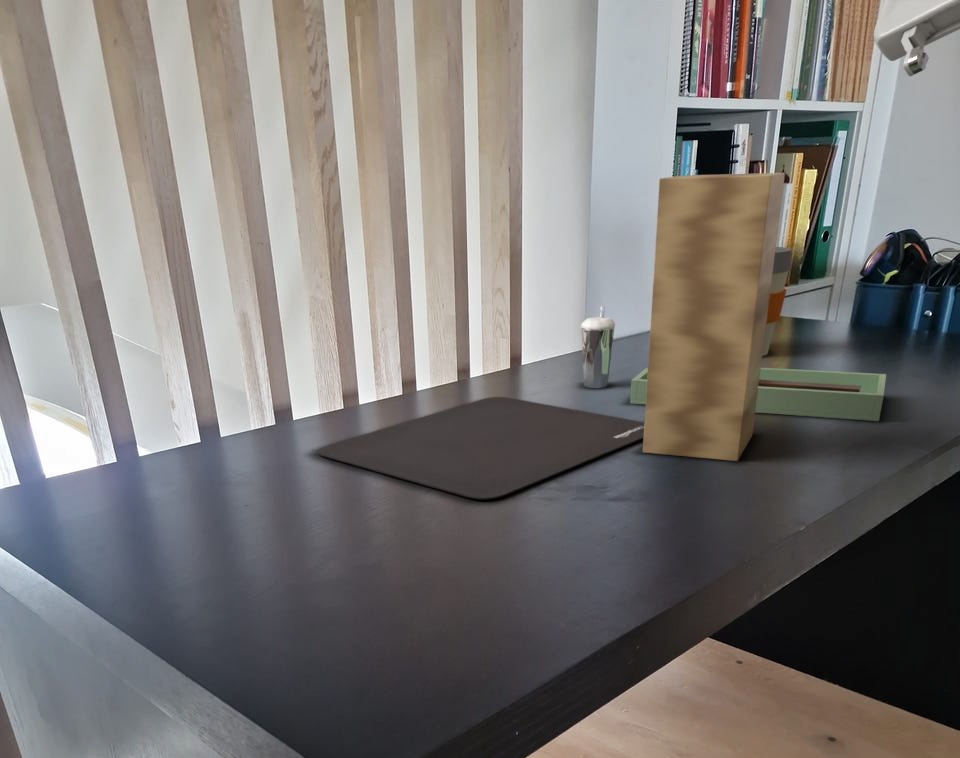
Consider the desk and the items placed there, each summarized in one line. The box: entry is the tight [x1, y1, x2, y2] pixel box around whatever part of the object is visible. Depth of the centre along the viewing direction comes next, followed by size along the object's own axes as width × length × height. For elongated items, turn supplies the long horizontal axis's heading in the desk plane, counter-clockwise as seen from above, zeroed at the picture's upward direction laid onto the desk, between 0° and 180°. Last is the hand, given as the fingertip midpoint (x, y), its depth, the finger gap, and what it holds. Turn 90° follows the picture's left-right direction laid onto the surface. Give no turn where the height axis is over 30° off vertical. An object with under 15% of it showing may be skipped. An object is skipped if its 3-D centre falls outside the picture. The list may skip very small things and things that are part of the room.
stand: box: [642, 172, 786, 462], centre depth 88 cm, size 10×10×26 cm
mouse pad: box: [316, 396, 645, 501], centre depth 97 cm, size 32×27×1 cm
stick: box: [758, 379, 861, 392], centre depth 109 cm, size 24×2×2 cm, turn 65°
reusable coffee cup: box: [762, 246, 793, 357], centre depth 133 cm, size 13×13×15 cm
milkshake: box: [580, 306, 616, 389], centre depth 118 cm, size 4×5×10 cm
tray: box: [629, 366, 887, 422], centre depth 109 cm, size 30×12×3 cm, turn 66°
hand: (959, 47), depth 84 cm, fingers open, 8 cm apart
